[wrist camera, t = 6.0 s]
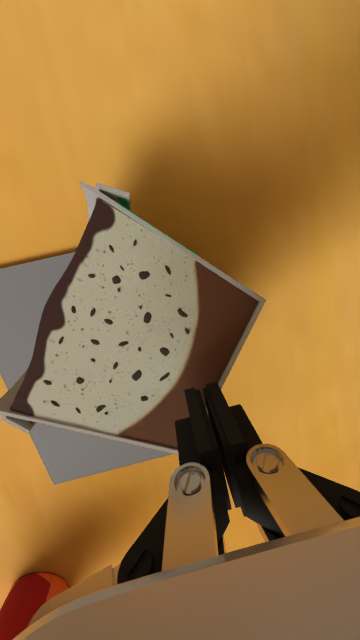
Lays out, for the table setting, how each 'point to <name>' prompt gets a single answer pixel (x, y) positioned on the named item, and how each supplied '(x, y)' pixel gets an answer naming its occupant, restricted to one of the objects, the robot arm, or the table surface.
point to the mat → (14, 358)
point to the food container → (130, 332)
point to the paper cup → (27, 601)
